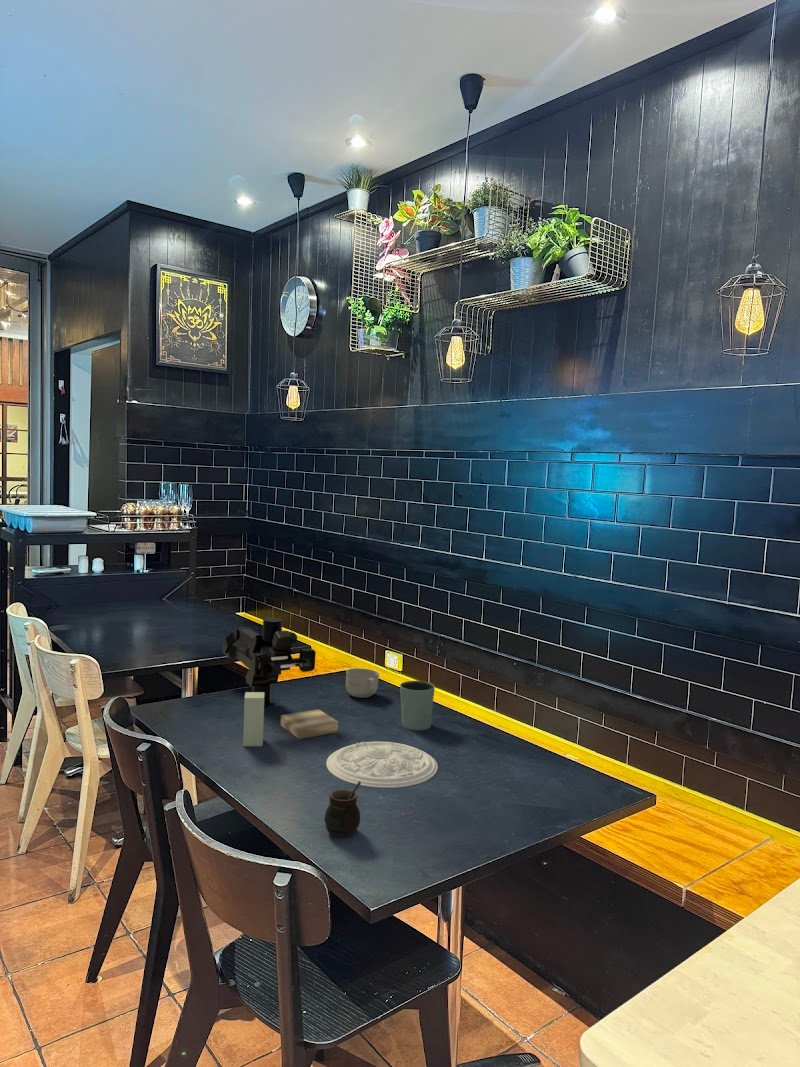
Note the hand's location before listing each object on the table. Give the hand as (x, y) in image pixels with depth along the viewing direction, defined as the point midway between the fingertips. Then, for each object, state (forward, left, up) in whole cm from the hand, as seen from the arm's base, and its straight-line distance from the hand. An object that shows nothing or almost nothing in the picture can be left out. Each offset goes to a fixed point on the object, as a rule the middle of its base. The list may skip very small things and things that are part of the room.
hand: (296, 671), depth 212 cm
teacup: (-17, +33, -17) cm, 41 cm away
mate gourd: (+59, -17, -17) cm, 63 cm away
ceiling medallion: (+33, +9, -17) cm, 38 cm away
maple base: (+2, +4, -17) cm, 17 cm away
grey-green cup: (+13, +33, -17) cm, 39 cm away
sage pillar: (+5, -14, -17) cm, 22 cm away
